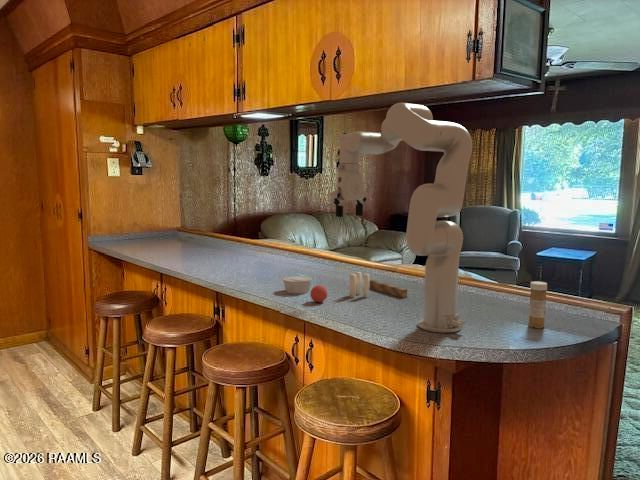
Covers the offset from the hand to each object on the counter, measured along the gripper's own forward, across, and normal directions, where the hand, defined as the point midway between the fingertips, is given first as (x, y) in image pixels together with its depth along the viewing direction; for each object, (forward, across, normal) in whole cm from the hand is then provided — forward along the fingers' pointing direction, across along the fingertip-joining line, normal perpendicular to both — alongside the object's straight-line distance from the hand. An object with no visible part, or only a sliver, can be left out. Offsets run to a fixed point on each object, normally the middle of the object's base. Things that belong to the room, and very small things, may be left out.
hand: (349, 216), depth 177 cm
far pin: (+30, +6, +2) cm, 31 cm away
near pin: (+30, +6, -4) cm, 31 cm away
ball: (+27, -13, +1) cm, 30 cm away
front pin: (+30, +2, 0) cm, 30 cm away
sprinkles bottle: (+30, +20, -62) cm, 72 cm away
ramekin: (+31, -9, +20) cm, 38 cm away
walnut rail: (+30, +18, -2) cm, 35 cm away
